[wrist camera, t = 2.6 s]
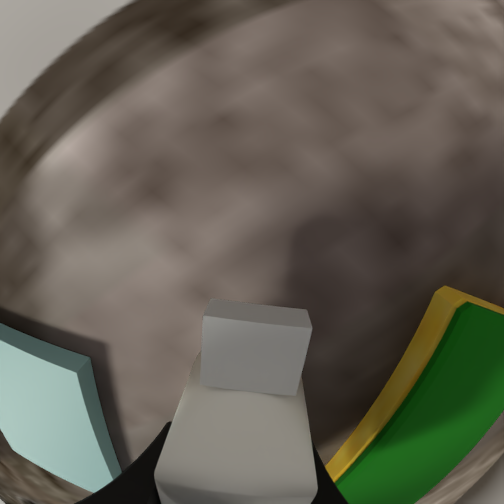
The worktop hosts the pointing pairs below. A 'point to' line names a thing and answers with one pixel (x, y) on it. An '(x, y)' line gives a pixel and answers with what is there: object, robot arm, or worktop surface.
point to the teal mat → (54, 410)
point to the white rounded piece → (243, 413)
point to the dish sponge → (428, 405)
